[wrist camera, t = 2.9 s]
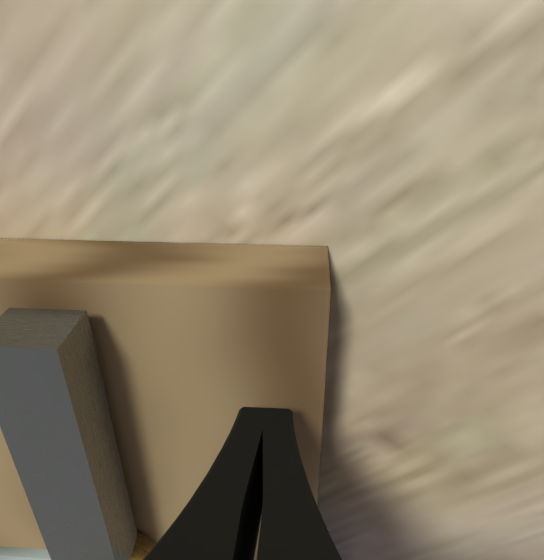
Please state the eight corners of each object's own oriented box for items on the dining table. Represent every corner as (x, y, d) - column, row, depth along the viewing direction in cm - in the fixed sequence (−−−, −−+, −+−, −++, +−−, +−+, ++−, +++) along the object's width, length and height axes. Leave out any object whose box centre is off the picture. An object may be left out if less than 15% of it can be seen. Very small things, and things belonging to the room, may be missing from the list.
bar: (162, 573, 18) (141, 654, 16) (89, 569, 18) (58, 648, 16) (108, 302, 12) (62, 368, 10) (2, 298, 12) (-67, 362, 10)
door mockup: (327, 246, 14) (335, 347, 10) (305, 658, 26) (304, 784, 21) (-131, 235, 15) (-304, 323, 11) (48, 638, 26) (-1, 755, 22)
